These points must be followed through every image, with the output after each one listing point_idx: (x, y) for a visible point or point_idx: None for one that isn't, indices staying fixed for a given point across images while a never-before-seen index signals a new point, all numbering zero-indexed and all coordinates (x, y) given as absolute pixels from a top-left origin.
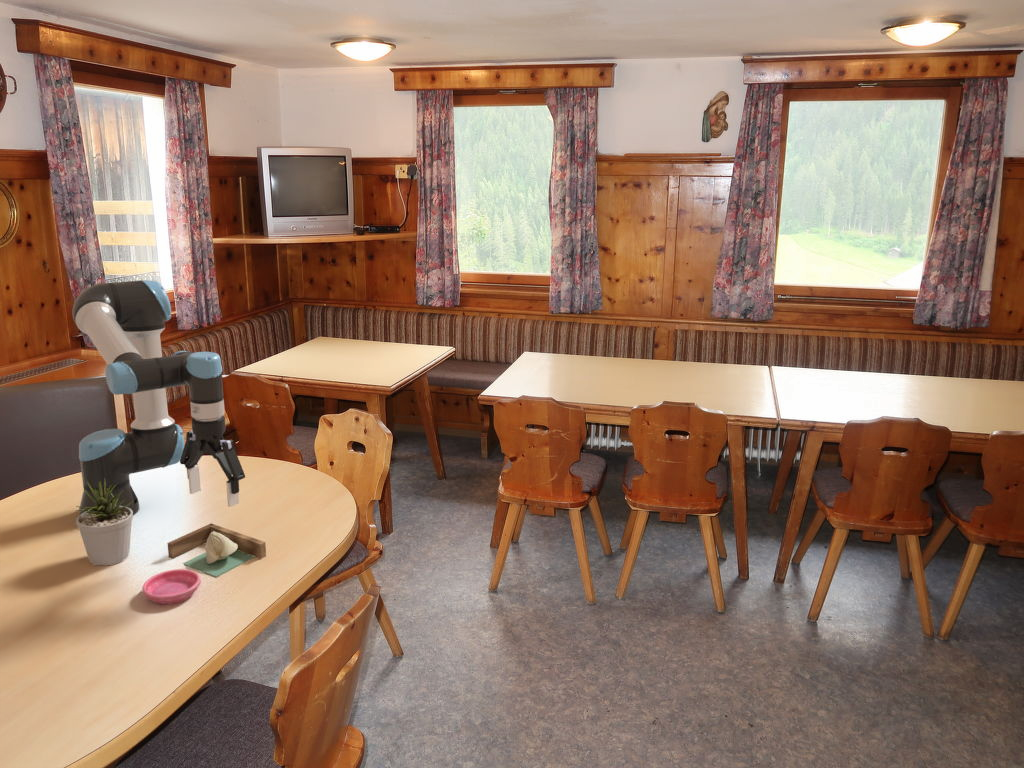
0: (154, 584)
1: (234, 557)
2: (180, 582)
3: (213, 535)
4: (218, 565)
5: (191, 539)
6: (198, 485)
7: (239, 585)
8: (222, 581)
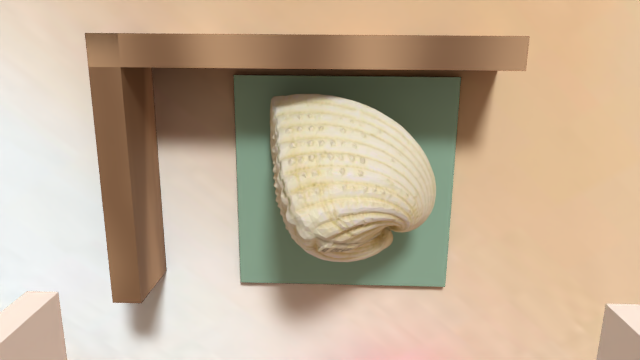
0: None
1: None
2: None
3: (328, 237)
4: None
5: (140, 187)
6: (21, 351)
7: (572, 281)
8: (487, 292)
